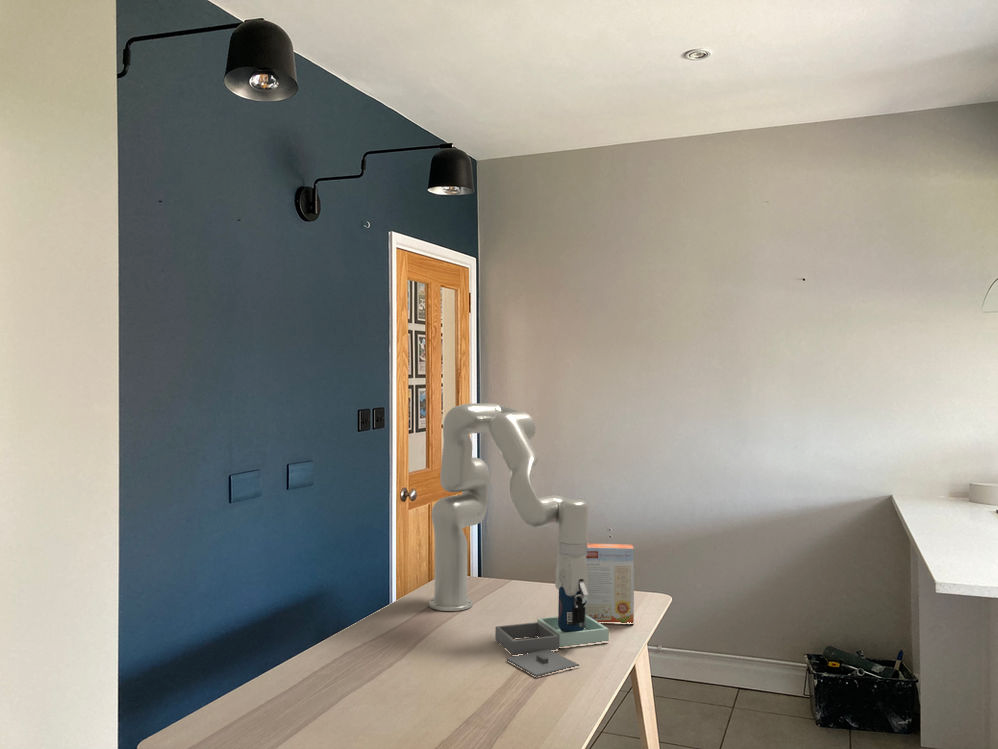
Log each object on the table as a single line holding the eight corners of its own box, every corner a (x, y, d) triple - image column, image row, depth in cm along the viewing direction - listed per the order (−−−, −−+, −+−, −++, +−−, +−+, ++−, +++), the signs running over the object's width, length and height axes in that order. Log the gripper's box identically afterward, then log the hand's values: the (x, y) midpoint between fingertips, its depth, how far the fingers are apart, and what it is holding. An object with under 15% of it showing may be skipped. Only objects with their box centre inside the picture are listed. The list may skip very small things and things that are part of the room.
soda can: (559, 625, 206) (560, 579, 206) (586, 627, 205) (586, 580, 205) (556, 633, 199) (557, 586, 199) (584, 635, 198) (585, 587, 198)
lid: (506, 661, 184) (506, 653, 184) (547, 652, 191) (547, 644, 191) (536, 678, 174) (536, 670, 174) (578, 668, 181) (579, 660, 181)
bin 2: (537, 632, 206) (537, 618, 206) (583, 627, 211) (584, 613, 211) (559, 649, 193) (559, 634, 193) (608, 643, 198) (608, 628, 198)
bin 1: (495, 640, 199) (495, 626, 199) (539, 635, 203) (539, 621, 203) (513, 656, 188) (513, 641, 188) (558, 651, 192) (559, 636, 192)
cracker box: (632, 619, 218) (633, 543, 218) (633, 626, 212) (634, 548, 212) (581, 617, 219) (582, 541, 219) (581, 624, 213) (582, 546, 213)
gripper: (545, 542, 209) (544, 609, 209) (574, 557, 193) (573, 630, 193) (571, 540, 212) (570, 607, 212) (602, 555, 195) (600, 627, 195)
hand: (571, 617), depth 202 cm, fingers closed on soda can, 6 cm apart
